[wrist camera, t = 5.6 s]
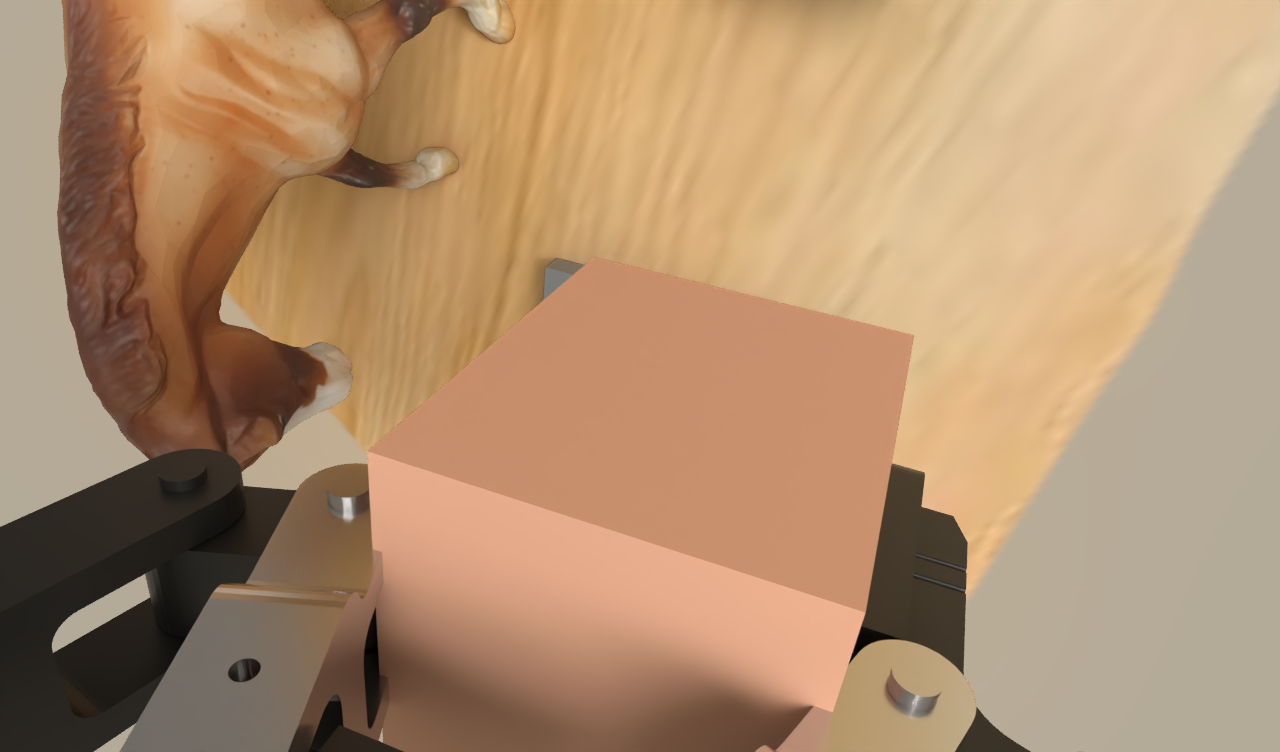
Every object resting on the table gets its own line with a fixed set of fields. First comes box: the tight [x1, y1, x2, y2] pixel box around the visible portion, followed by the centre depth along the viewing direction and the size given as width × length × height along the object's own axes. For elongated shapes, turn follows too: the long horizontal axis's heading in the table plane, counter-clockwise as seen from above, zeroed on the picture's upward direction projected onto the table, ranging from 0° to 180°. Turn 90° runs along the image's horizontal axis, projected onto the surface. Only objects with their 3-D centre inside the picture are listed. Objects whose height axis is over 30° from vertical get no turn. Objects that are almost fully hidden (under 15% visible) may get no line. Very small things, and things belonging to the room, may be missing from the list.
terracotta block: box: [367, 257, 914, 752], centre depth 12 cm, size 5×5×6 cm
